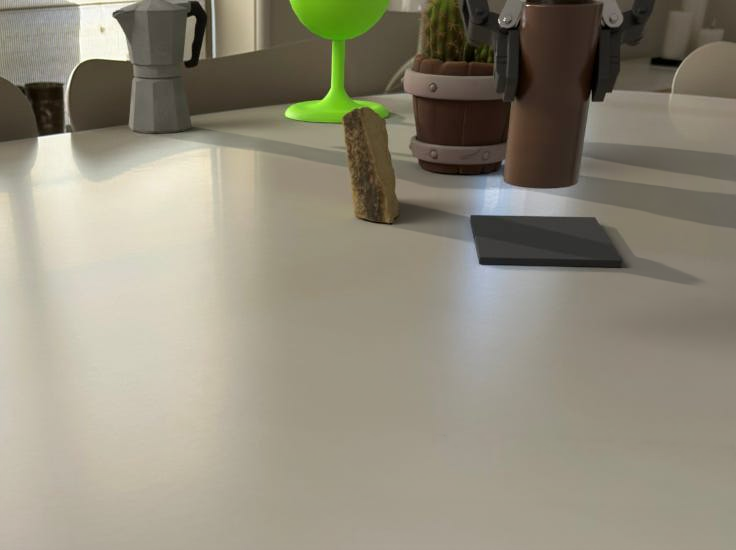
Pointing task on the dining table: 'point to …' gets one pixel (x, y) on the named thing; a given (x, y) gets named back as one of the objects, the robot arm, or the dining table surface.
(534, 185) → the pepper mill
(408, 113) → the dining table surface
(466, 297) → the dining table surface
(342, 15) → the wineglass
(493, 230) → the mat
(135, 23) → the coffeepot
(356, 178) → the rock
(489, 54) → the flowerpot
